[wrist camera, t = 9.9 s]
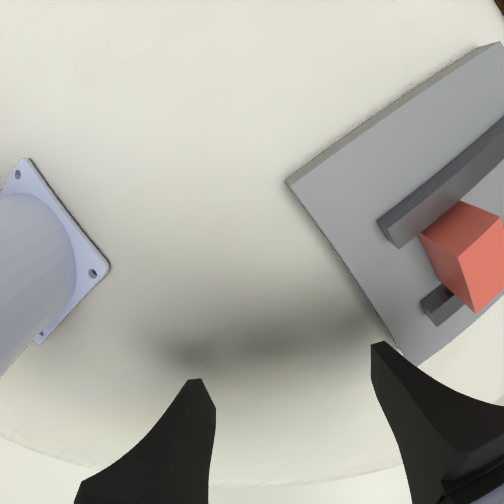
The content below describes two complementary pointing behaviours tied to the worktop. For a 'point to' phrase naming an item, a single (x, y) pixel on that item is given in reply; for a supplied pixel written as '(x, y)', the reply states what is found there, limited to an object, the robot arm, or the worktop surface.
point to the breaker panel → (413, 194)
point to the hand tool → (500, 5)
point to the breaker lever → (467, 253)
